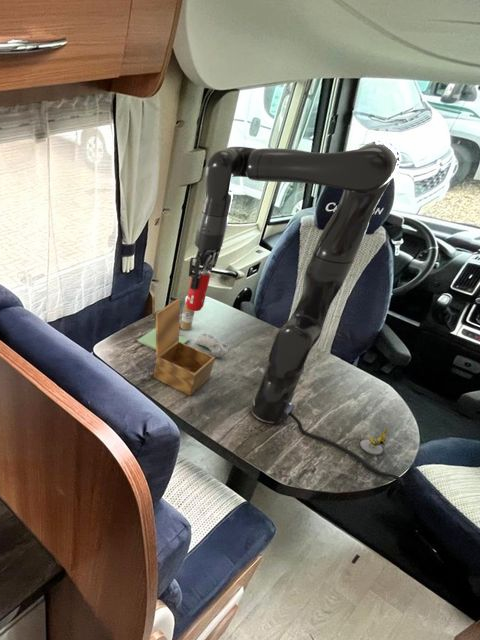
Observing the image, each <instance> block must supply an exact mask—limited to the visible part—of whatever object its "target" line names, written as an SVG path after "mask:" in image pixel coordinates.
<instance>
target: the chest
mask: <svg viewBox="0 0 480 640" xmlns="http://www.w3.org/2000/svg"><path fill="white" fill-rule="evenodd" d="M215 359H216V357H214V356H212V354H209V353H206V352H204V351H202V350H199V349H197V348H195V347H192V346H190V345H188V344H186V343H185V344H183V343H181V342H179V341H177V342H176V343H175V344H173V345H172V346H171V347H169V348H168V349H167V350H166V351H164V352H163V353H161V354H160V355H159V356H156V360H155V366H154V372H153V377H152V378H154V379H155V380H158V381H159V382H162V383H163V384H165V385H168V386H170V387H171V388H173V389H175V390H178V391H180V393H184V394H185V395H188V396H191V395H193V394H194V393H195V392H196V391H197V390H199V388H201V386H202V385H203V384H204V383H205V382H207V380H209V379H210V377H211V375H212V370H213V366H214V364H215Z"/></svg>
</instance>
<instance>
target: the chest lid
mask: <svg viewBox="0 0 480 640" xmlns="http://www.w3.org/2000/svg"><path fill="white" fill-rule="evenodd" d="M180 309H181V299H180V298H177V299H175V300H173V301H172V302H171V303H169V304H167V305H166V306H164V307H163V308H162V309H160V310H158V311H157V312H156V313H155V328H156V350H155V356H156V357H158V356H159V355H160V354H162V353H163V352H164V351H165V350H167V349H168V348H169V347H171V346H172V345H173V344H175V343H176V342H177V341H179V335H180V317H181V316H180V313H181V311H180Z"/></svg>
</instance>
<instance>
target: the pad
mask: <svg viewBox="0 0 480 640" xmlns="http://www.w3.org/2000/svg"><path fill="white" fill-rule="evenodd" d="M179 342H181V343H183V344H186V343H187V342H189V338H187V337H185V336H183V335H180V334H179ZM137 343H139V344H142V345H144V346H146V347H148V348H151V349H152V350H154V351H156V327H155V328H152V329H151V330H150V331H148V332H147V333H145V334H144V335H143V336H141V337H140V338H138V339H137ZM165 351H166V350H165Z"/></svg>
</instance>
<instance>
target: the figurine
mask: <svg viewBox="0 0 480 640" xmlns="http://www.w3.org/2000/svg"><path fill="white" fill-rule="evenodd" d="M387 431H388V427H386V428H385V429H384V430H383V431H382V432H381V435H380V436H379V437H377V438H371V437H368V439H363V440H361V441H360V442H359V445H360V447H361V448H362V450H364V451H365V452H366V453H369V454H370V455H375V456H376V455H377V456H378V455H381V454H382V453H383V451H384V450H383V447H382V446H386V435H387ZM381 445H382V446H381Z"/></svg>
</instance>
